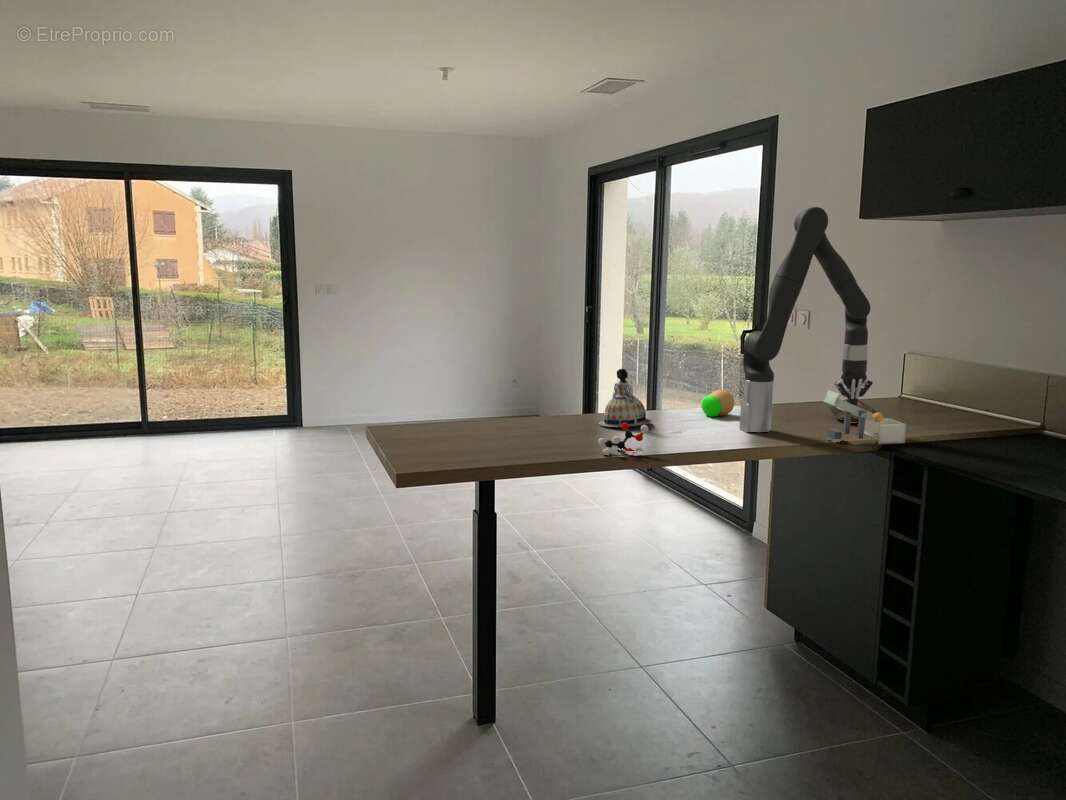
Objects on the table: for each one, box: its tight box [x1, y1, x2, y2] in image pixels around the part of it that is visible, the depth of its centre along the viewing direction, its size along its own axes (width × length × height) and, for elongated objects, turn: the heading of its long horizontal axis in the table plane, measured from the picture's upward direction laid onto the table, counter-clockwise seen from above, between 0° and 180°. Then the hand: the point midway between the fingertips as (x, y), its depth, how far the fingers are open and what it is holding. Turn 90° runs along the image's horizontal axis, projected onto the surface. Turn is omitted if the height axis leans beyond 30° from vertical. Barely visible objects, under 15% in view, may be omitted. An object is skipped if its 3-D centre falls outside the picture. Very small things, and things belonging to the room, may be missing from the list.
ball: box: [872, 411, 884, 422], centre depth 252 cm, size 3×3×3 cm
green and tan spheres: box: [701, 389, 735, 418], centre depth 288 cm, size 11×10×12 cm
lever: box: [823, 389, 874, 422], centre depth 255 cm, size 17×17×4 cm
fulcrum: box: [825, 410, 876, 447], centre depth 251 cm, size 11×13×10 cm
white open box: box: [864, 417, 908, 445], centre depth 252 cm, size 9×9×6 cm
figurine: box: [598, 368, 653, 428], centre depth 271 cm, size 18×18×20 cm
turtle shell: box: [827, 398, 877, 423], centre depth 280 cm, size 16×9×20 cm
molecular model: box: [597, 423, 649, 453], centre depth 234 cm, size 16×8×10 cm, turn 92°
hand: (852, 409), depth 263 cm, fingers closed
